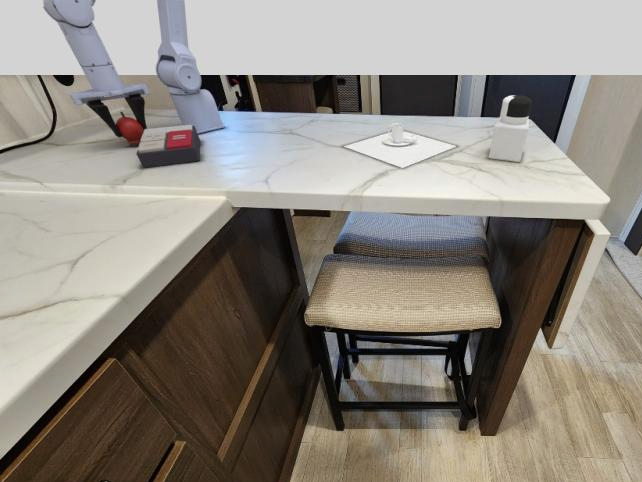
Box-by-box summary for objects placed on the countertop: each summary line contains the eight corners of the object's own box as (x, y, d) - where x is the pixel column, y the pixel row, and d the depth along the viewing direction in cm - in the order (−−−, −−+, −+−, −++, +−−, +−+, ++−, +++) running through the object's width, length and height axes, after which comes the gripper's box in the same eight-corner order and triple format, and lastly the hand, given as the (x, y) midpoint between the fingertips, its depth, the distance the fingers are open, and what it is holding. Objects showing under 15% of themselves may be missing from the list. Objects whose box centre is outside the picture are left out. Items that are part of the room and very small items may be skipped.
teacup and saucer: (422, 142, 83) (423, 125, 81) (400, 150, 79) (401, 132, 76) (397, 135, 88) (397, 118, 85) (375, 142, 83) (375, 124, 81)
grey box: (133, 150, 67) (141, 126, 76) (144, 171, 70) (150, 145, 80) (193, 143, 70) (193, 121, 80) (201, 163, 73) (200, 140, 83)
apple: (143, 136, 82) (128, 107, 78) (152, 140, 80) (138, 111, 76) (120, 141, 80) (104, 111, 75) (128, 145, 77) (112, 115, 73)
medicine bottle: (522, 152, 79) (536, 94, 71) (520, 162, 74) (535, 102, 66) (492, 148, 81) (503, 92, 73) (488, 158, 76) (499, 98, 68)
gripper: (61, 71, 63) (103, 144, 73) (141, 62, 72) (170, 129, 81) (50, 67, 67) (92, 138, 76) (128, 59, 75) (158, 124, 84)
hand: (132, 133), depth 79 cm, fingers closed on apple, 5 cm apart
